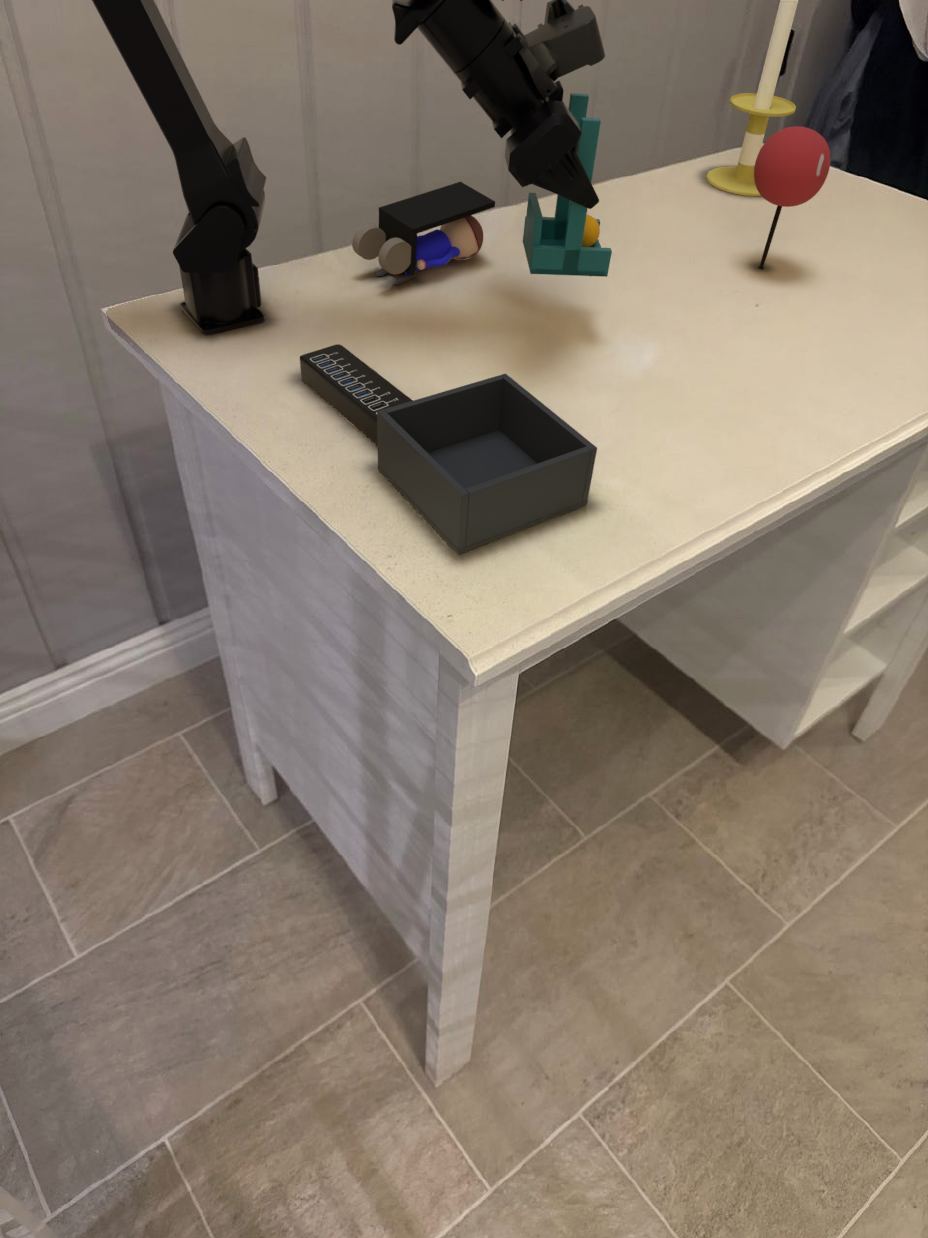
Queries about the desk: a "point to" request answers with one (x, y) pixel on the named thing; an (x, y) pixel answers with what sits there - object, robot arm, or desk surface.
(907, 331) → the desk surface
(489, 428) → the bin
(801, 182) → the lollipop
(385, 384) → the multiport hub
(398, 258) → the figurine character
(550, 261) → the tray with tall posts
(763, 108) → the candle
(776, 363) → the desk surface
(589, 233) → the toy ball
